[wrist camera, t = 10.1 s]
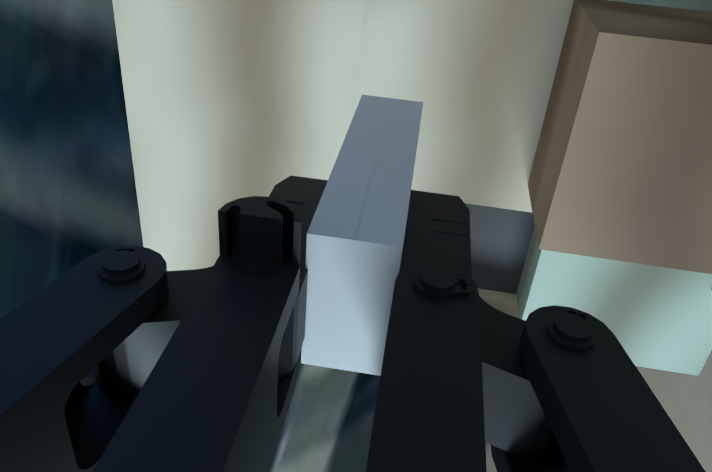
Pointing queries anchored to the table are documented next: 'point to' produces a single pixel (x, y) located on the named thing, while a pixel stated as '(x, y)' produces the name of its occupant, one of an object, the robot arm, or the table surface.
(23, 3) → the table surface
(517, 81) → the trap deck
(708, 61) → the block
